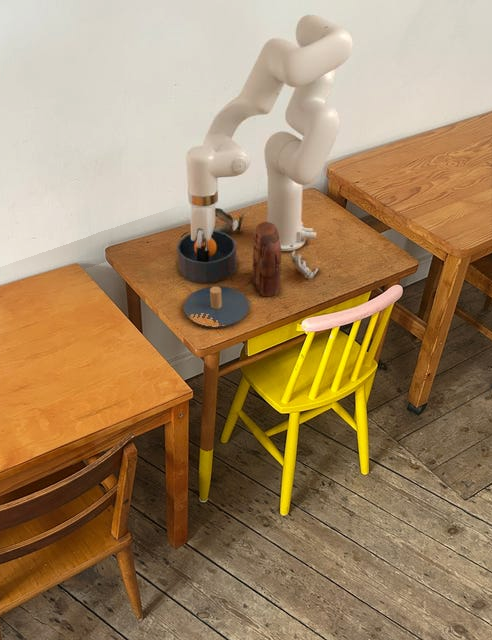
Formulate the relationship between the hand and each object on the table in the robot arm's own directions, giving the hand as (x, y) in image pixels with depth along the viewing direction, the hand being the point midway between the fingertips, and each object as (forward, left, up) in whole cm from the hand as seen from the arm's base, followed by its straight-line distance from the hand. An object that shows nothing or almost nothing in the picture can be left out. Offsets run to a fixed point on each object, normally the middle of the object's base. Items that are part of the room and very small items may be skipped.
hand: (205, 254), depth 199 cm
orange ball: (0, 0, +2) cm, 2 cm away
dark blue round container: (0, 0, -4) cm, 4 cm away
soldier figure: (-26, -1, -4) cm, 27 cm away
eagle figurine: (-2, -18, -4) cm, 19 cm away
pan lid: (-6, +18, -3) cm, 19 cm away
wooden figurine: (-17, +6, -4) cm, 19 cm away
